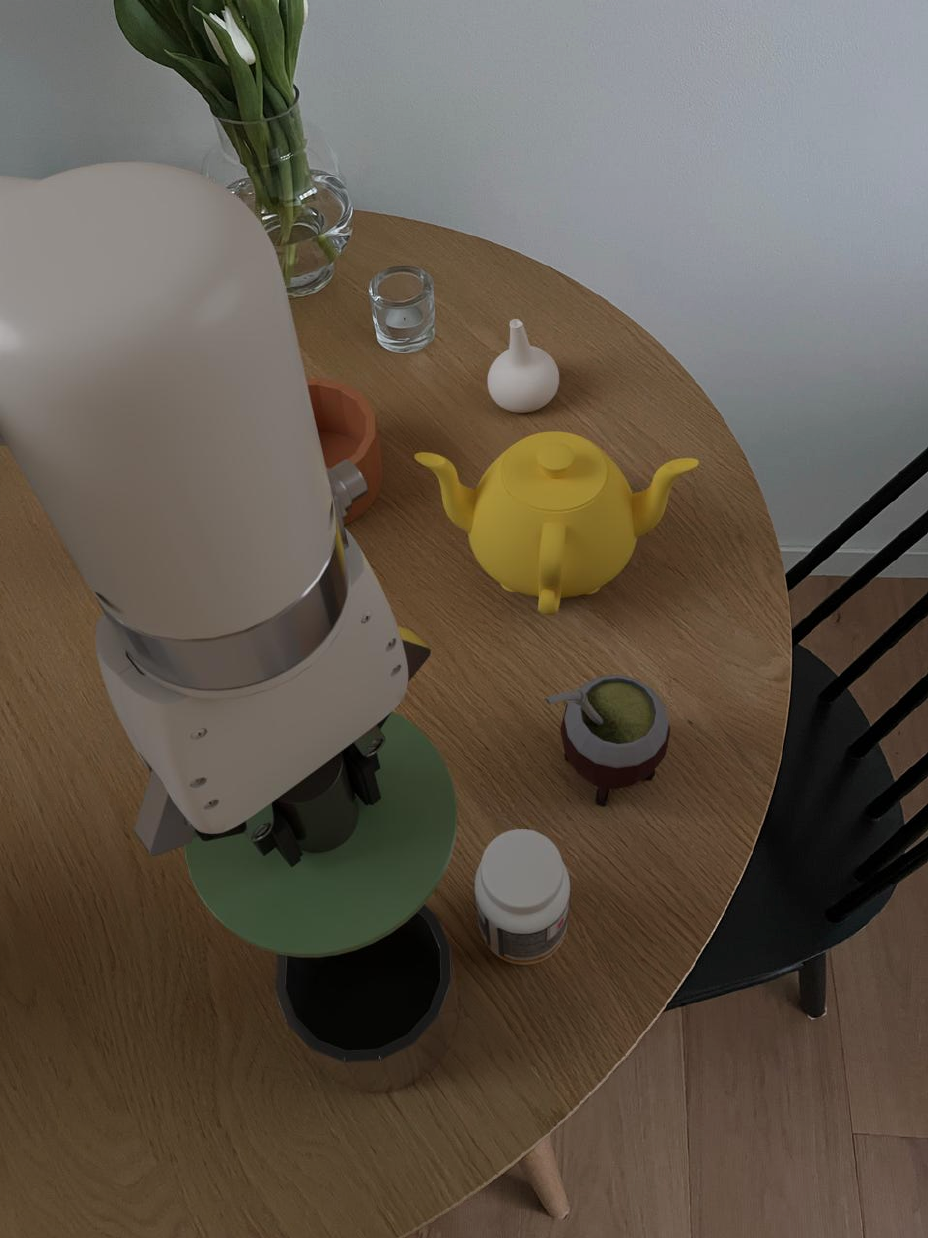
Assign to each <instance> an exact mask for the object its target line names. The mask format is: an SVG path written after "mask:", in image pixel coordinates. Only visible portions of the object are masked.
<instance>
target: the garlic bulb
mask: <svg viewBox="0 0 928 1238" xmlns="http://www.w3.org/2000/svg"><path fill="white" fill-rule="evenodd" d="M509 329H510V332H509V346H508V349H506V350H505V351H503V352H502V353H500V354H499V355H498V356H497V357H496V358H495V359H494V361H493V362H492V364H491V365H490V368H489V370H488V373H487V389H488V392H489V396H490V397H491V399H492V400H493V401H494V403H495V404H496V405H497V406H498V407H500V408H502V409H504V410H506V411H509V412H512V413H517V414H525V413H531V412H535V411H538V410H540V409H542V408H543V407H545V406H546V405H547V404H549V403H550V402H551V401H552V399H554V397H555V396H556V394H557V392H558V389H559V385H560V372H559V368H558V365H557V363H556V362H555V360H554V358H553V357H552V356H551V355H550V354H549V353H548V352H547V351H545V350H543V348H540V347H536V346H533V345H531V344H530V342H529V338H528V335H527V332H526V329H525V327H524V322H522V321H521V320H520V319H519V318H513V319H511V320H510V321H509Z"/></svg>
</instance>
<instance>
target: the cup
mask: <svg viewBox="0 0 928 1238" xmlns="http://www.w3.org/2000/svg"><path fill="white" fill-rule="evenodd" d="M275 961H276V965H275V977H274V979H275V980H274V993H275V996H276V999H277V1002H278V1004H279V1007H280V1010H281V1013H282V1016H283V1019H284V1021H285V1024H286V1026H287V1027H288V1028H289V1030H290V1031H291V1032H292V1033H293V1035H294V1036H295V1037H296V1038H297V1040H298V1041H299V1043H300V1044H301V1045H302V1047H304V1049H305V1050H306V1052H307V1053H308V1054H309V1056H310V1057H311V1058H312V1059H313V1060H314V1061H315V1062H316V1063H317V1064H318V1065H319V1067H320V1068H321V1069H322V1070H323V1071H324V1072H325V1073H326V1074H327V1075H328V1076H329V1077H330V1078H331V1079H332V1080H334V1081H336V1082H338V1083H339V1084H341V1085H343V1086H345V1087H347V1088H350V1089H352V1090H356V1091H359V1092H365V1093H370V1094H371V1093H374V1094H375V1093H376V1094H381V1093H390V1092H391V1093H392V1092H394V1091H398V1090H402V1089H404V1088H407V1087H409V1086H411V1085H413V1084H415V1083H417V1082H419V1081H421V1080H422V1079H423V1078H424V1077H426V1076H427V1075H428V1074H430V1072H432V1071H433V1070H434V1069H435V1067H436V1066H438V1065H439V1063H440V1061H441V1060H442V1059H443V1058H444V1057H445V1055H446V1053H447V1052H448V1049H449V1048H450V1046H451V1045H452V1041H453V1039H454V1037H455V1034H456V1031H457V1030H456V1029H457V1026H458V1022H459V1018H460V1014H459V1009H460V1008H459V1006H460V1005H459V988H458V981H457V976H456V975H457V974H456V970H455V964H454V959H453V953H452V948H451V944H450V942H449V940H448V937H447V935H446V933H445V930H444V928H443V926H442V924H441V922H440V920H439V918H438V916H437V915H436V914H435V913H434V911H432V910H431V909H430V907H428V906H427V905H426V903H425V904H424V905H423V906H422V907H421V909H420V910H419V911H418V912H417V913H415V914H414V915H413V916H412V917H411V918H410V919H409V920H408V921H407V922H406V923H404V924H403V925H402V926H400V927H399V928H398V929H396V930H395V931H394V932H392V933H391V934H389V935H387V936H385V937H384V938H382V939H380V940H378V941H376V942H375V943H372V944H370V945H367V946H365V947H362V948H360V949H357V950H354V951H351V952H347V953H343V954H339V955H333V956H325V957H294V956H287V955H280V954H277V953H276V960H275Z"/></svg>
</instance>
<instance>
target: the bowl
mask: <svg viewBox="0 0 928 1238" xmlns="http://www.w3.org/2000/svg"><path fill="white" fill-rule="evenodd" d="M306 381H307V385H308V390H309V394H310V399H311V403H312V408H313V413H314V417H315V422H316V426H317V430H318V435H319V439H320V444H321V448H322V453H323V457H324V461H325V466H326V467H327V468H330V469H331V468H332V467H334V466H335V465H337V464H339V463H340V462H342V461H343V460H345V459H348V460H350V461H351V462H352V463H353V464H355V466H356V467H357V468H358V469H359V470H360V472H361V474H362V475H363V477H364V479H365V481H366V483H367V487H368V493H367V494H366V495H364V496H363V497H361V498H360V499H358V500H357V501H355V502H353V503H352V509H351V510H349V511H348V512H347V514H348V515H347V516H346V518H345V519H344V526H345V525H348V524H349V523H352V522H353V521H355V520H356V519H358V518H359V517H361V516H362V515H364V513H365V512H366V511H368V510H369V509H370V508H371V506H372V505H373V504H374V503H375V501H376V499H378V496H379V495H380V492H381V490H382V486H383V482H384V467H383V466H384V460H383V453H382V447H381V440H380V434H379V428H378V422H377V415H376V413H375V411H374V410H373V408H372V406H371V404H370V403H369V401H368V400H367V398H366V397H365V395H363V394H362V393H360V392H358V391H357V390H356V389H354V388H353V387H351V386H350V385H348V384H347V383H345V382H340V381H336V380H331V379H326V378H323V377H309V378H307V377H306Z"/></svg>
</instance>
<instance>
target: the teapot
mask: <svg viewBox="0 0 928 1238" xmlns="http://www.w3.org/2000/svg"><path fill="white" fill-rule="evenodd" d="M414 459H415V460H416V462H418V463H419V464H421V465H423V466H425V468H427V469H429V470H431V471H432V472H433V473H434V474H435V475H436V477H437V479H438V483H439V485H440V493H441V501H442V506H443V508H444V510H445V511H444V512H445V513H446V515H447V518H449V519H450V522H452V523H453V524H454V525H455V526H456V527H457V528H459V529H461V530H462V531H464V532H466V533H467V537H468V542H469V546H470V549H471V551H472V553H473V555H474V558H475V559H476V560H477V562H478V563H479V564H480V566H481V568H482V569H483V571H485V572H486V573H487V574H488V575H489V576H490V577H491V578H492V579H494V580H495V581H496V582H498V583H499V584H500V586H501V587H502V588H503V590H505V591H507V592H510V593H520V594H523V595H526V596H529V597H530V596H531V597H536V598H538V603H537V611H538V612H539V613H540V614H542V615H544V616H553V615H556V614H557V613H558V611H559V608H560V602H561V599H566V598H572V597H577V596H580V595H592V594H595V593H597V592H598V591H600V589H601V587H603V586H605V585H606V584H608V583H609V582H610V581H612V580H614V578H616V577H617V576H618V575H619V574H620V573H621V572H622V570H623V569H624V568H625V567H626V566H627V564H628V563H629V561H630V559H632V556H633V554H634V552H635V549H636V545H637V541H638V538H639V537H641V536H643V535H646V534H647V533H649V532H650V531H652V530H653V529H654V528H655V527H656V526H657V525H658V524H659V523H660V522H661V520H662V518H663V516H664V514H665V511H666V508H667V504H668V501H669V495H670V493H671V492H670V491H671V489H672V486H673V485H674V483H675V481H676V480H677V479H678V478H680V476H682V475H685V474H686V473H688V472H690V471H692V470H694V469H696V468H697V467H698V466H699V463H700V462H699V460H698V459H697V458H693V457H681V458H676V459H672V460H670V461H667V462H666V463H664V464H662V465H661V466H660V467H659V468H658V469H657V470H656V472H655V473H654V475H653V477H652V480H651V484H650V486H649V487H647V488H645V489H643V490H641V491H638V492H634V493H633V490H632V489H631V487H630V484H629V482H628V480H627V478H626V477H625V475H624V473H623V471H622V470H621V469H620V467H618V465H617V464H616V463H615V462H614V461H613V459H612V458H611V457H610V456H609V455H608V454H607V453H606V452H605V451H604V450H602V449H601V448H600V447H599V446H598V445H596V444H595V443H594V442H592V441H591V440H589V439H587V438H585V437H584V436H581V435H578V434H575V433H571V432H566V431H556V430H555V431H554V430H553V431H552V430H551V431H542V432H538V433H537V432H536V433H533V434H531V435H528V436H525V437H524V438H521V439H520V440H519V441H517V442H515V443H514V444H512V445H511V446H509V447H508V448H507V449H506V450H505V451H503V453H501V454H500V455H499V456H498V457H497V458H496V459H495V460H494V461H493V462H492V463H491V464H490V466H489V467H488V468H487V469H486V471H485V472H484V473H483V475H482V477H481V478H480V480H479V481H478V484H477V486H476V487H475V489H474V488H471V487H468V486H466V485H465V484H462V483H461V482H460V480H459V476H458V472H457V471H458V470H457V469H456V467H455V465H454V464H453V463H452V462H451V461H450V460H449V459H448V458H446V457H444V456H442V455H441V454H437V453H433V452H424V451H423V452H422V451H421V452H417V453H415V454H414Z"/></svg>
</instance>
